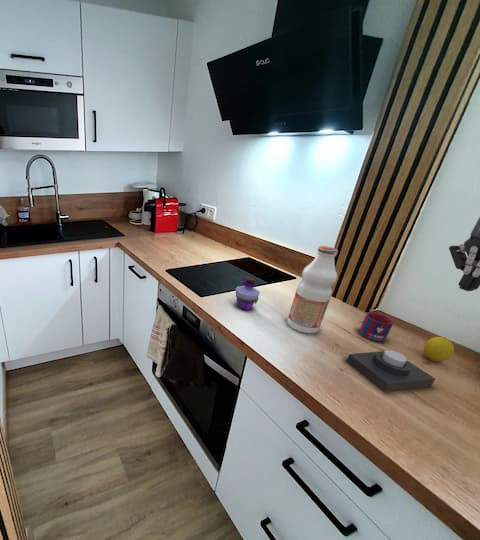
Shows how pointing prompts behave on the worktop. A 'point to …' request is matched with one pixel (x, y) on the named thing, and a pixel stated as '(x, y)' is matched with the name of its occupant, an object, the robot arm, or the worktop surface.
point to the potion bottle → (247, 294)
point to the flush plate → (389, 372)
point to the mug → (376, 327)
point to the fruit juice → (314, 292)
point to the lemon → (438, 348)
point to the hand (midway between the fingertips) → (465, 289)
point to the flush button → (394, 358)
